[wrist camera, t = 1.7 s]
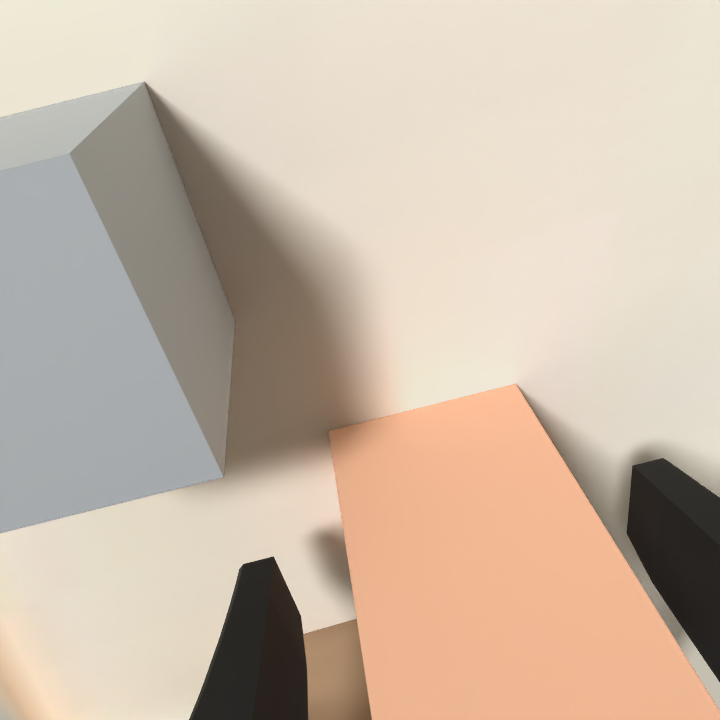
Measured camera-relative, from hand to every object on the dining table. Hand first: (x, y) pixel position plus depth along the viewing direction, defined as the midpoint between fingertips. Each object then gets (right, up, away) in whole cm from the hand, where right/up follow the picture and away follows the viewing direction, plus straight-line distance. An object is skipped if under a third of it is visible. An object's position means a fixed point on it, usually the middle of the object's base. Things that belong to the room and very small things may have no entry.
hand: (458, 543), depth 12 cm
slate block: (-7, +6, -2) cm, 9 cm away
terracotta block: (0, +1, +2) cm, 2 cm away
